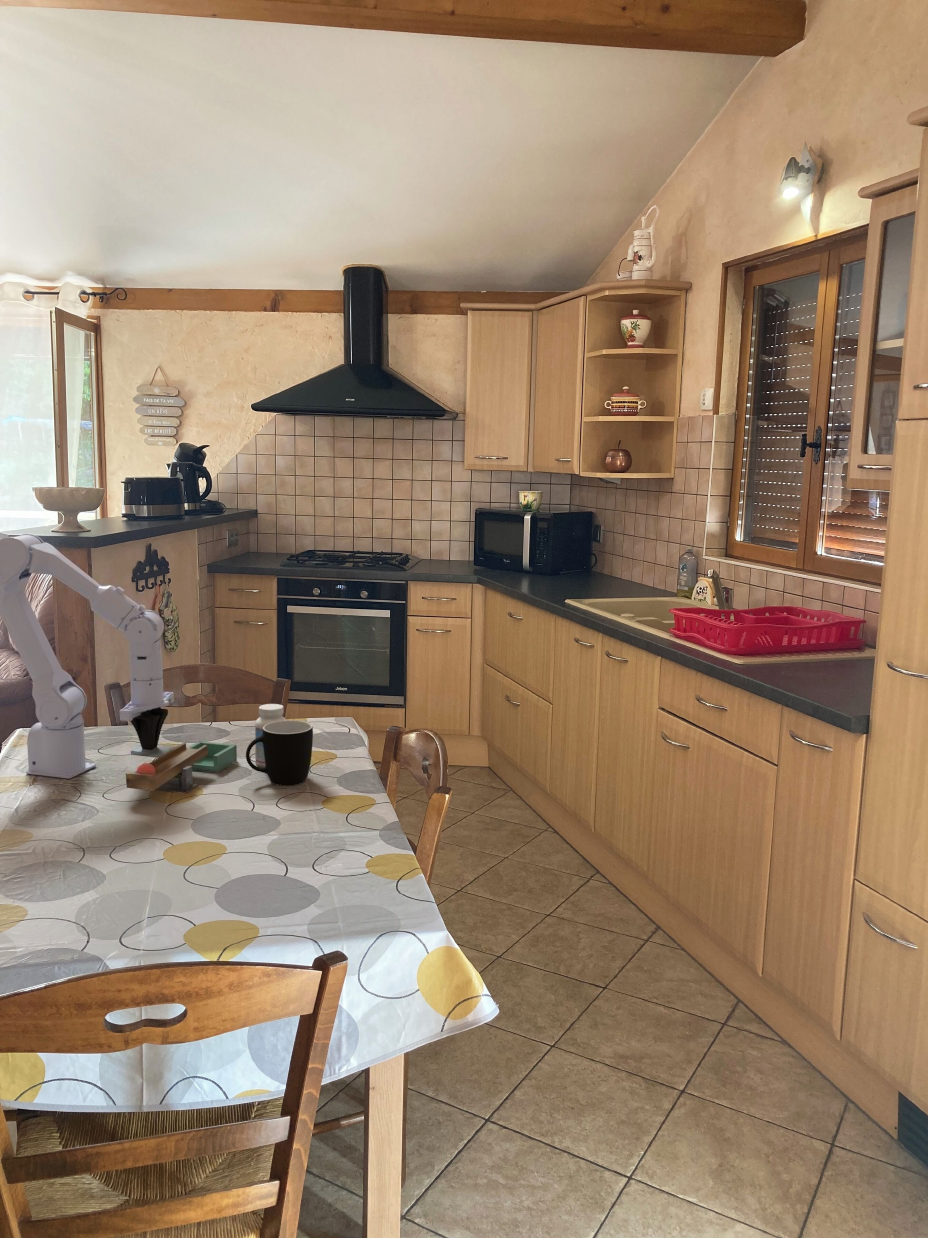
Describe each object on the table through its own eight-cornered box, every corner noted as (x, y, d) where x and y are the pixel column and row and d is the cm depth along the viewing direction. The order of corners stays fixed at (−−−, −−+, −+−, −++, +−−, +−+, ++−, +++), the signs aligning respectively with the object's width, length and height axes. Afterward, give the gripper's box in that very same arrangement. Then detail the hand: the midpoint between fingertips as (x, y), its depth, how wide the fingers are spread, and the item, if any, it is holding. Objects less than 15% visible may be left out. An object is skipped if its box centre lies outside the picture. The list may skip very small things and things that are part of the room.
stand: (140, 788, 166) (139, 766, 165) (153, 781, 170) (152, 759, 169) (186, 793, 164) (185, 771, 163) (198, 786, 168) (197, 764, 167)
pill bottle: (270, 770, 177) (269, 712, 175) (248, 763, 181) (248, 707, 179) (294, 762, 182) (293, 706, 180) (273, 756, 186) (272, 701, 184)
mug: (308, 770, 178) (308, 718, 176) (317, 786, 169) (316, 731, 168) (243, 776, 174) (242, 723, 172) (249, 792, 165) (248, 736, 164)
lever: (83, 786, 161) (81, 768, 160) (143, 750, 178) (142, 734, 177) (155, 794, 157) (154, 776, 157) (210, 757, 174) (209, 741, 174)
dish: (179, 768, 177) (178, 752, 177) (199, 757, 184) (199, 741, 184) (217, 772, 175) (217, 756, 175) (236, 761, 182) (236, 745, 182)
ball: (133, 783, 159) (132, 766, 158) (144, 775, 162) (142, 759, 161) (149, 784, 158) (148, 768, 157) (159, 777, 161) (158, 761, 160)
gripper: (143, 688, 165) (146, 762, 167) (187, 671, 179) (189, 740, 181) (107, 685, 167) (111, 759, 169) (154, 668, 181) (156, 736, 183)
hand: (149, 749), depth 175 cm, fingers closed, pressing on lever
